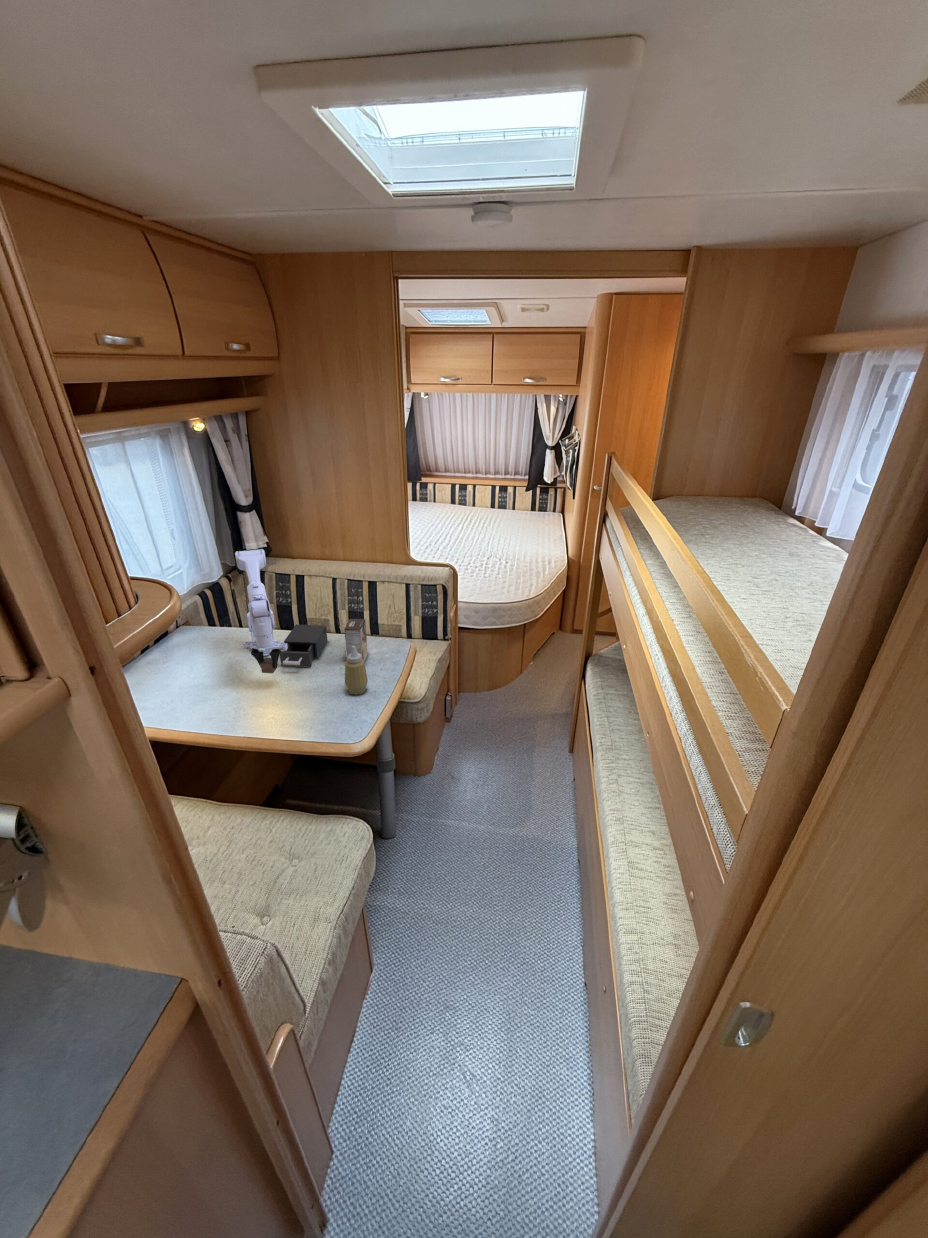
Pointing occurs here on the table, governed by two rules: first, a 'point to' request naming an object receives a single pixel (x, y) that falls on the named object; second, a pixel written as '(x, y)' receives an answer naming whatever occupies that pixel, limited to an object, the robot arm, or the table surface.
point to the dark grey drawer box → (309, 637)
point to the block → (267, 666)
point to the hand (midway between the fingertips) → (269, 666)
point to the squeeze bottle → (355, 673)
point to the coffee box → (356, 637)
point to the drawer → (297, 655)
